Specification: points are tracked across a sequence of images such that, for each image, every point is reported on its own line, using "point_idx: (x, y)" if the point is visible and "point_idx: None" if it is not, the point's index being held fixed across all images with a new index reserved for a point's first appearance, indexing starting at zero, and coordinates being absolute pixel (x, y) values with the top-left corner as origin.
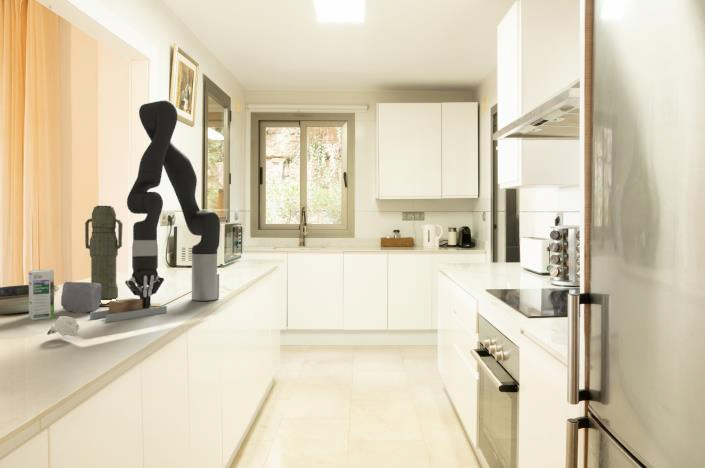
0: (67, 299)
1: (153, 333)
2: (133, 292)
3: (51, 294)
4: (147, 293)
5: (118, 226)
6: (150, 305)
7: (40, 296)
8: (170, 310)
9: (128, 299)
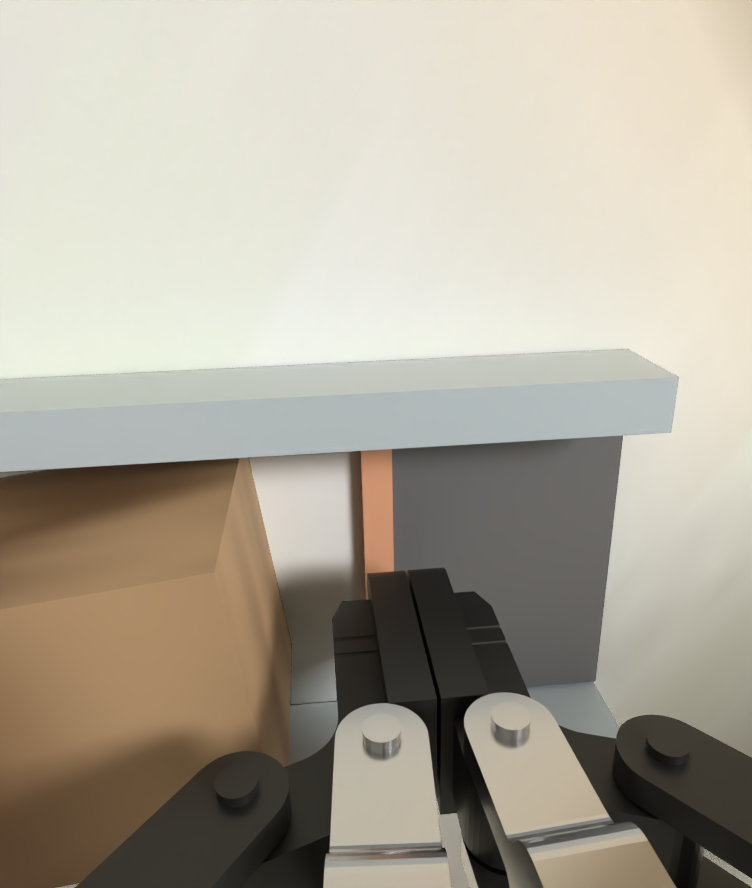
0: None
1: None
2: (151, 856)
3: None
4: (471, 866)
5: None
6: (650, 426)
7: None
8: (732, 620)
9: (77, 696)
